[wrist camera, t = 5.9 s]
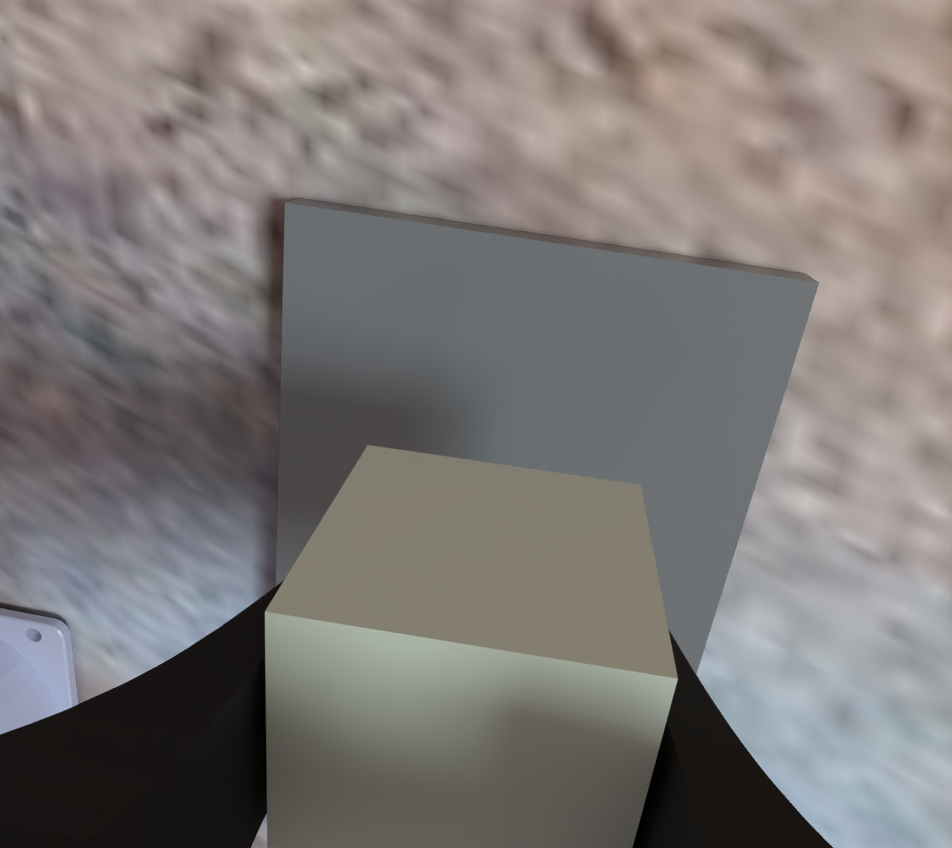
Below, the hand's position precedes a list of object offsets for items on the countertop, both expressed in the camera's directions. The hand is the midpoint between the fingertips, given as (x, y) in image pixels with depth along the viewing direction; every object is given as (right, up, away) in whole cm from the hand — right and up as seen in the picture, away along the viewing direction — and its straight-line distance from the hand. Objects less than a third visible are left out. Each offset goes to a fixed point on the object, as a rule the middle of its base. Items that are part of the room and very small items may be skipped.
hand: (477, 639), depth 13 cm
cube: (0, +1, +1) cm, 2 cm away
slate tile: (+1, +3, +7) cm, 7 cm away
